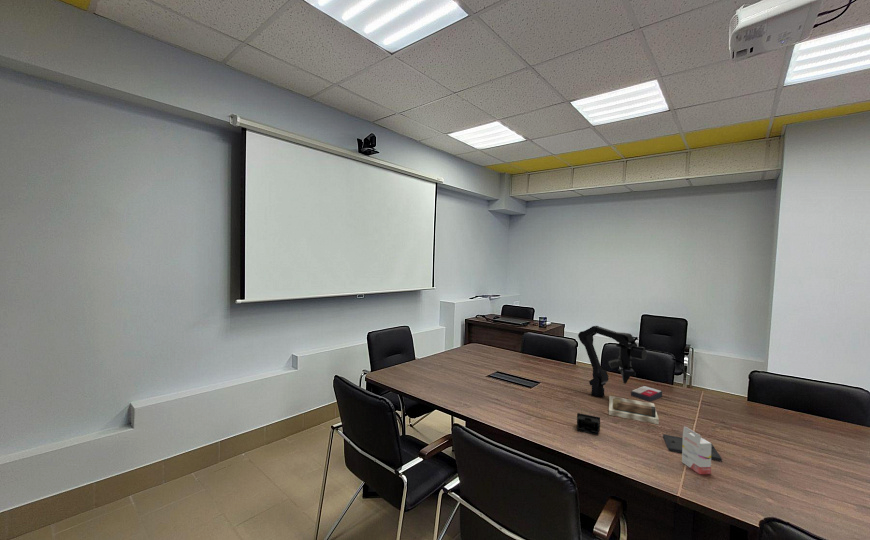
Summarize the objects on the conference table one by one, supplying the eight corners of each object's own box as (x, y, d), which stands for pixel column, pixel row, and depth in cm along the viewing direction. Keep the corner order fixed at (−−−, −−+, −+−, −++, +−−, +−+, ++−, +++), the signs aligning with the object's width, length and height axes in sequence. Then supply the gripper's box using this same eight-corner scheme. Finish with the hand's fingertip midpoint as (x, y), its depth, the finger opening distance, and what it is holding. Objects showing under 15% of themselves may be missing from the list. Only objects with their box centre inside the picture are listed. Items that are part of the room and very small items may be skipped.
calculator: (630, 390, 207) (643, 384, 215) (630, 397, 208) (643, 391, 216) (649, 396, 198) (662, 390, 206) (649, 403, 198) (662, 397, 206)
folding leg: (612, 409, 180) (612, 400, 180) (612, 406, 183) (612, 397, 183) (655, 417, 171) (655, 407, 171) (654, 414, 174) (654, 405, 174)
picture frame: (711, 447, 149) (662, 438, 156) (711, 442, 149) (663, 433, 156) (721, 463, 137) (668, 452, 144) (721, 457, 137) (668, 447, 144)
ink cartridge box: (711, 474, 128) (713, 435, 128) (699, 475, 128) (700, 435, 127) (692, 461, 136) (693, 425, 136) (681, 461, 136) (682, 425, 136)
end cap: (599, 429, 163) (600, 415, 163) (599, 435, 156) (600, 421, 156) (577, 424, 167) (577, 411, 167) (576, 430, 161) (576, 416, 161)
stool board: (608, 414, 179) (608, 409, 179) (609, 400, 199) (609, 395, 199) (658, 424, 169) (658, 419, 169) (653, 408, 189) (653, 403, 189)
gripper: (606, 350, 204) (605, 376, 204) (613, 358, 186) (612, 387, 186) (626, 352, 201) (626, 378, 201) (636, 360, 183) (635, 389, 183)
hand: (624, 383), depth 193 cm, fingers closed
